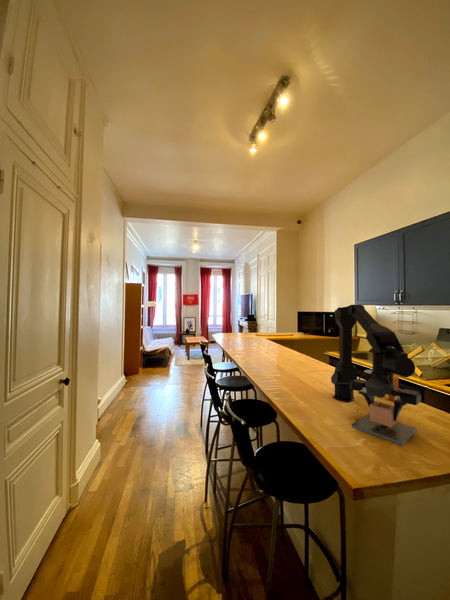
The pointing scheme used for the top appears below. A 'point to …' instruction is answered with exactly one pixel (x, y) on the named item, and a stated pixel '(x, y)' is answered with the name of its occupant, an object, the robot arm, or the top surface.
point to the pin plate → (386, 430)
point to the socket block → (382, 413)
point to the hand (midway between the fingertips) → (383, 417)
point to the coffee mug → (366, 374)
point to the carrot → (396, 382)
